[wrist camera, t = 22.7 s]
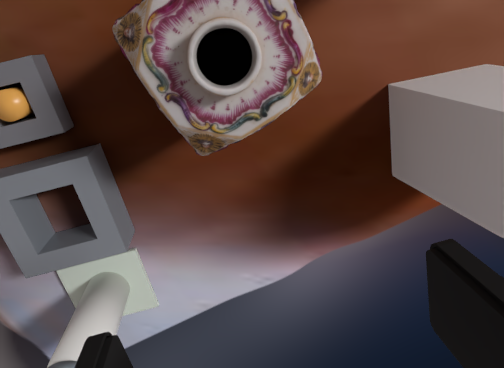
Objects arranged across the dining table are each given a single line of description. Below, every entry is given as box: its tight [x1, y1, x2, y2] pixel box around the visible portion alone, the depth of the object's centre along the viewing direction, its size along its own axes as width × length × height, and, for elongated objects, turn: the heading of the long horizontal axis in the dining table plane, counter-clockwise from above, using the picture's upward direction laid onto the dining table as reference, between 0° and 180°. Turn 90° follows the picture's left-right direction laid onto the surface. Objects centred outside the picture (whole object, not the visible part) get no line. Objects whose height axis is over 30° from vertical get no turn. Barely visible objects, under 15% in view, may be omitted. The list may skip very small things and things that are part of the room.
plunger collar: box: [0, 55, 74, 149], centre depth 37 cm, size 8×8×3 cm
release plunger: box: [0, 86, 34, 122], centre depth 37 cm, size 3×3×4 cm
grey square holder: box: [0, 144, 135, 278], centre depth 41 cm, size 11×11×5 cm
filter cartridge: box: [47, 272, 130, 368], centre depth 40 cm, size 5×5×16 cm
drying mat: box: [56, 248, 159, 316], centre depth 47 cm, size 9×10×1 cm
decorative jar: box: [113, 0, 322, 156], centre depth 31 cm, size 12×12×18 cm
